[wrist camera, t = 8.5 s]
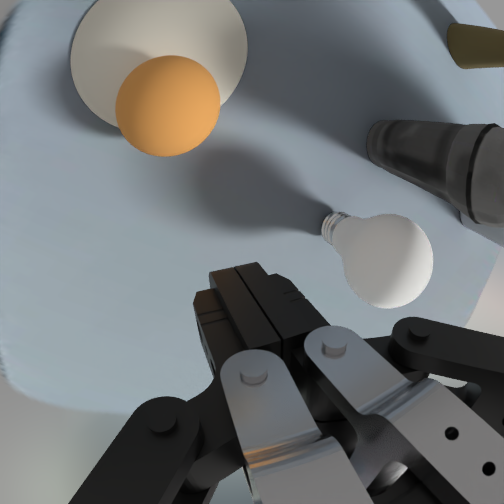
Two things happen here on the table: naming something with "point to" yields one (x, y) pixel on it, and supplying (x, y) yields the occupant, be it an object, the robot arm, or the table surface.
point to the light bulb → (381, 256)
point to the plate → (154, 45)
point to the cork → (476, 46)
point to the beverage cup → (446, 162)
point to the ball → (167, 105)
